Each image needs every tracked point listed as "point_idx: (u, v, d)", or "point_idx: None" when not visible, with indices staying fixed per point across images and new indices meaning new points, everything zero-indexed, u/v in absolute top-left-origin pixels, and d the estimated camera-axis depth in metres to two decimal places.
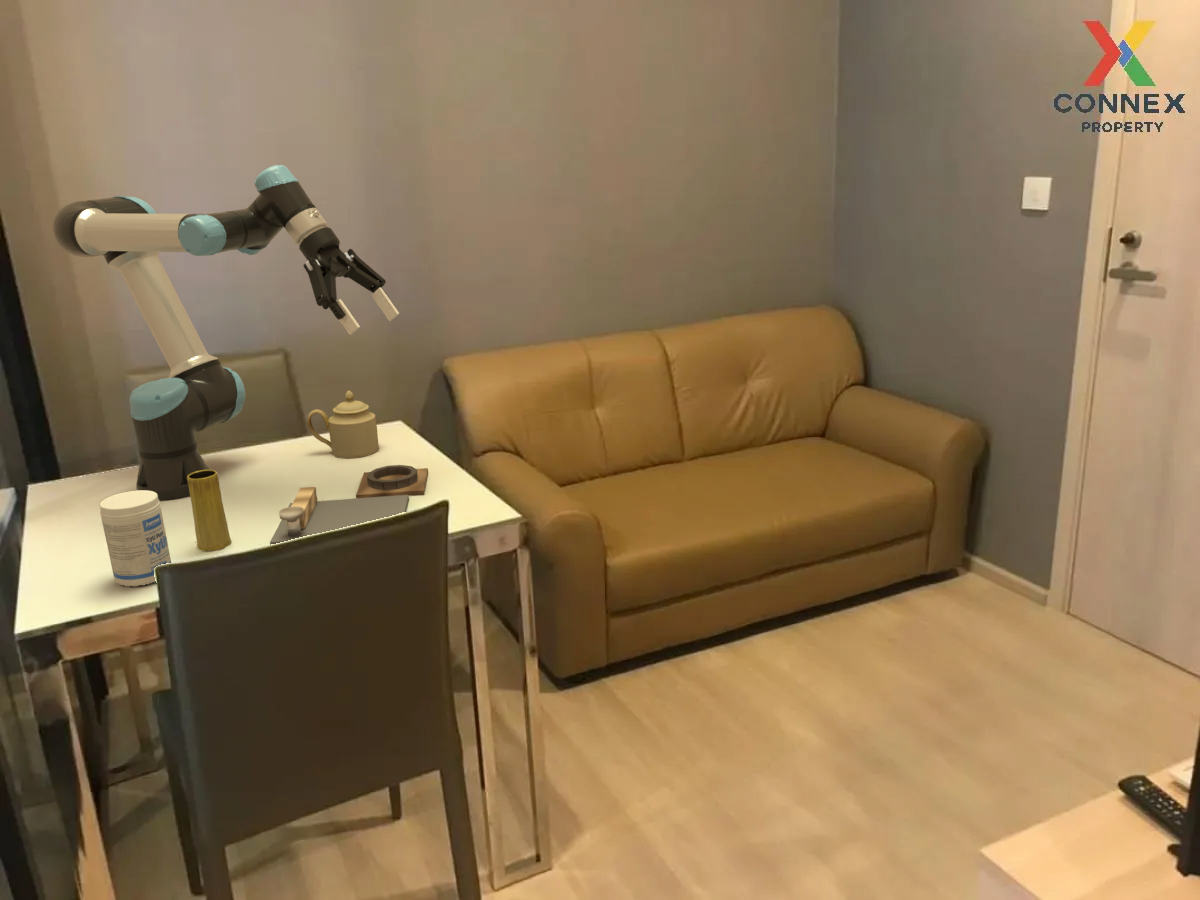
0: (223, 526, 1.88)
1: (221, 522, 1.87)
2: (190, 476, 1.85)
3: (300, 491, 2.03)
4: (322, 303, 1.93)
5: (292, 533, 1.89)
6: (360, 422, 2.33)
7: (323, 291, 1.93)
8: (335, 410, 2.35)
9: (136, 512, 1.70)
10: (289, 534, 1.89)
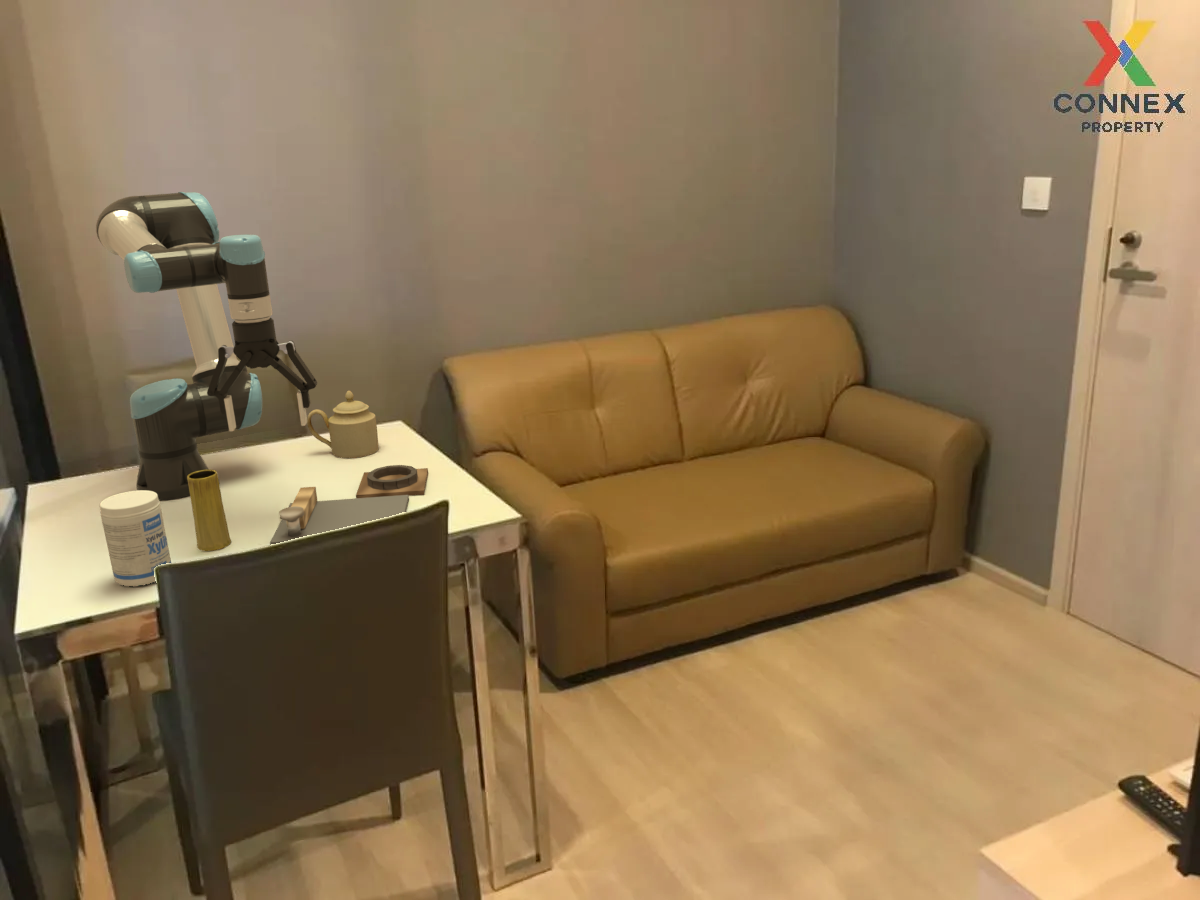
0: (223, 526, 1.88)
1: (221, 522, 1.87)
2: (190, 476, 1.85)
3: (300, 491, 2.03)
4: None
5: (292, 533, 1.89)
6: (360, 422, 2.33)
7: (210, 386, 1.91)
8: (335, 410, 2.35)
9: (136, 512, 1.70)
10: (289, 534, 1.89)
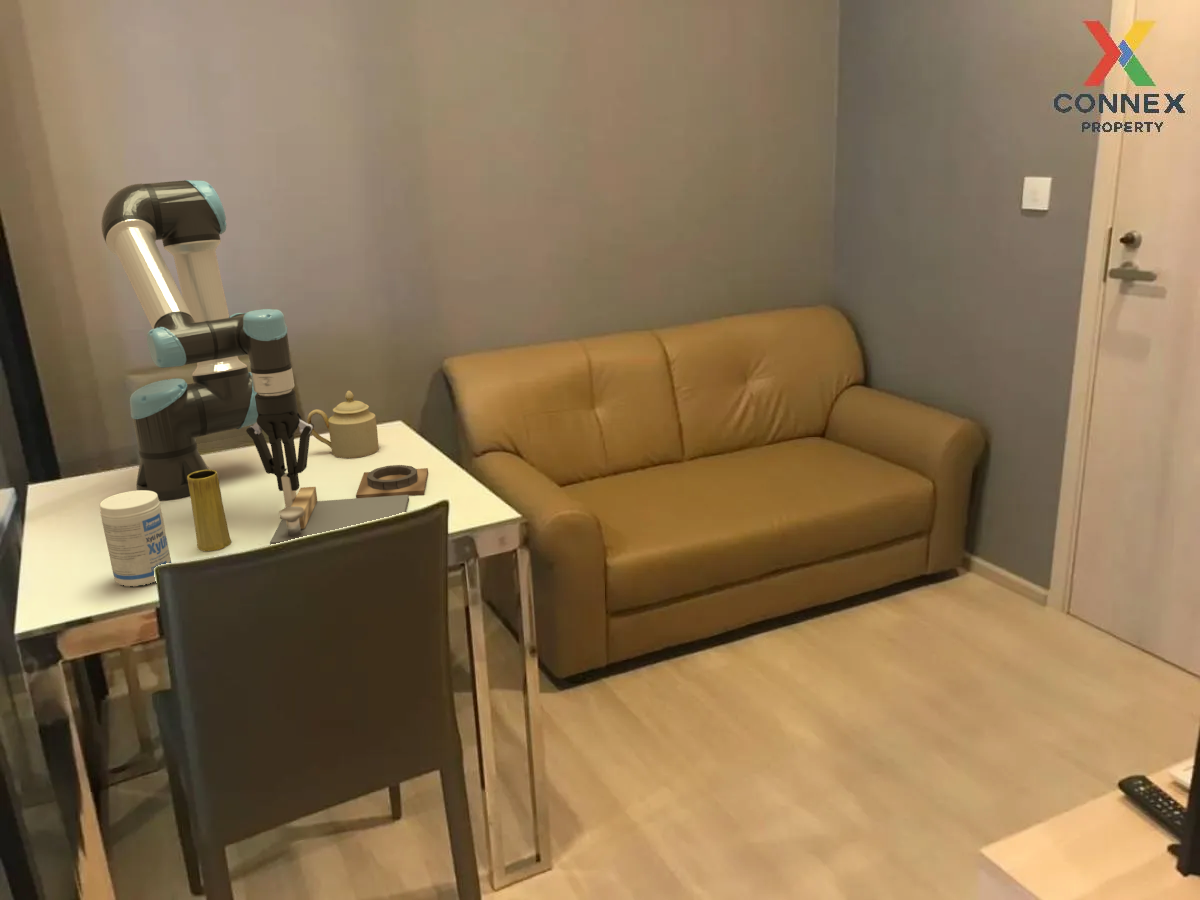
0: (223, 526, 1.88)
1: (221, 522, 1.87)
2: (190, 476, 1.85)
3: (300, 491, 2.03)
4: None
5: (292, 533, 1.89)
6: (360, 422, 2.33)
7: (264, 465, 1.97)
8: (335, 410, 2.35)
9: (136, 512, 1.70)
10: (289, 534, 1.89)
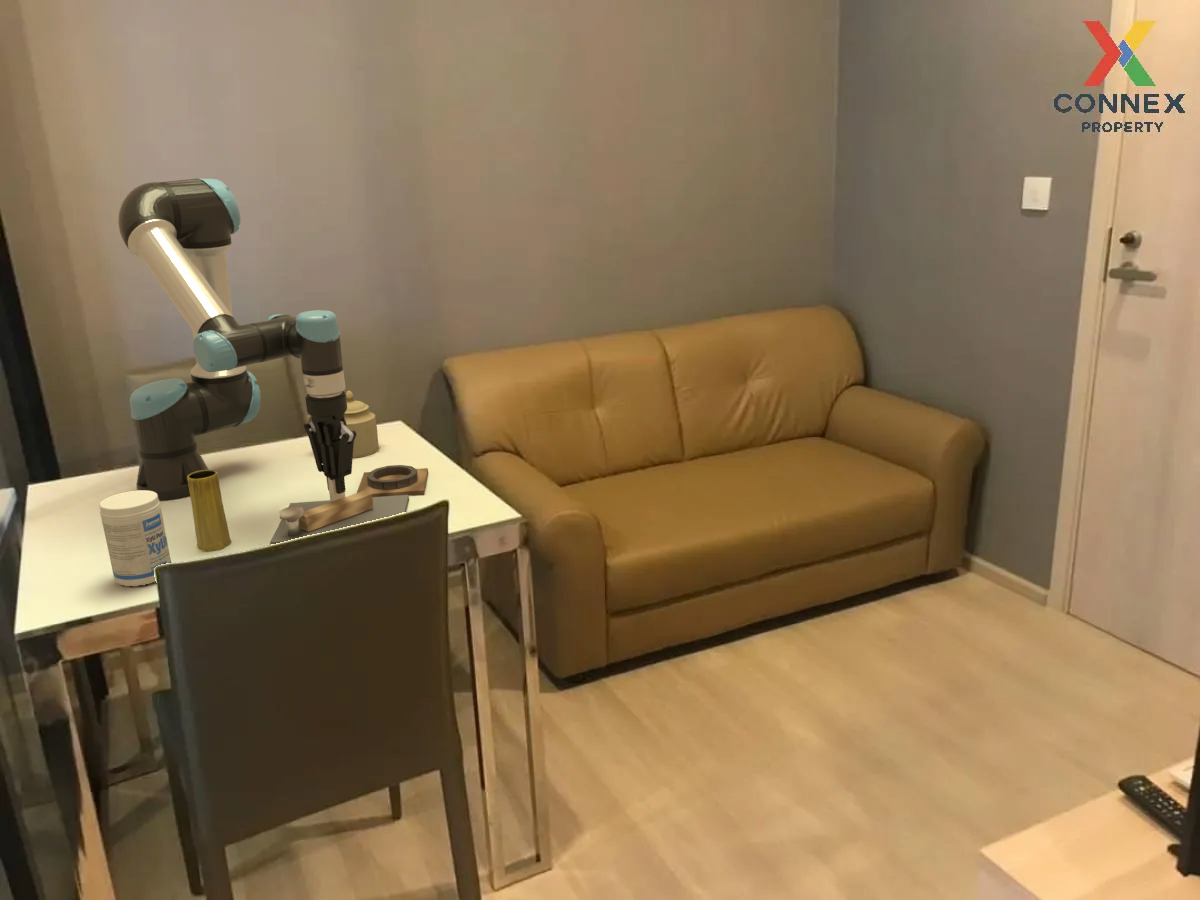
0: (223, 526, 1.88)
1: (221, 522, 1.87)
2: (190, 476, 1.85)
3: (354, 494, 2.00)
4: None
5: (292, 533, 1.89)
6: (360, 422, 2.33)
7: (316, 463, 1.98)
8: None
9: (136, 512, 1.70)
10: (289, 534, 1.89)
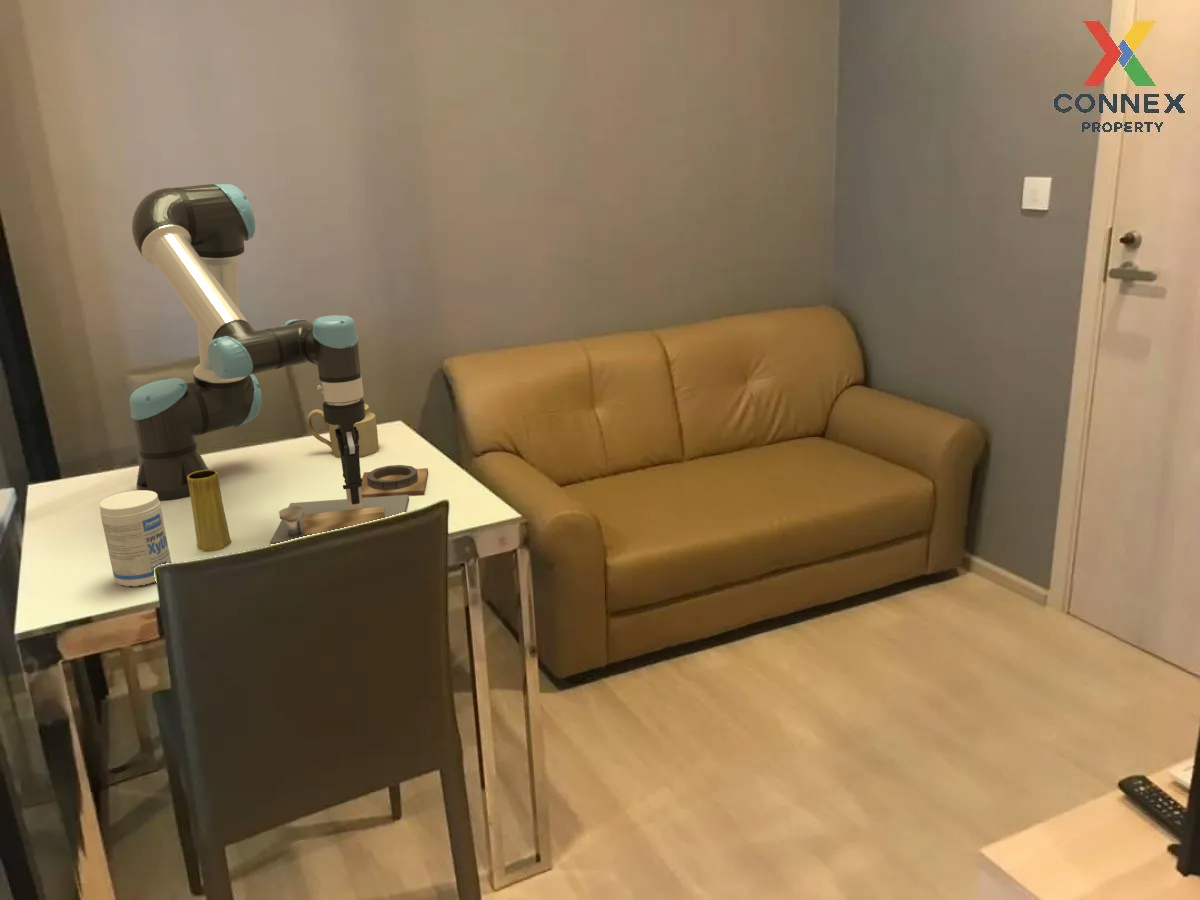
0: (223, 526, 1.88)
1: (221, 522, 1.87)
2: (190, 476, 1.85)
3: (371, 508, 1.93)
4: None
5: (292, 533, 1.89)
6: (360, 422, 2.33)
7: None
8: None
9: (136, 512, 1.70)
10: (289, 534, 1.89)
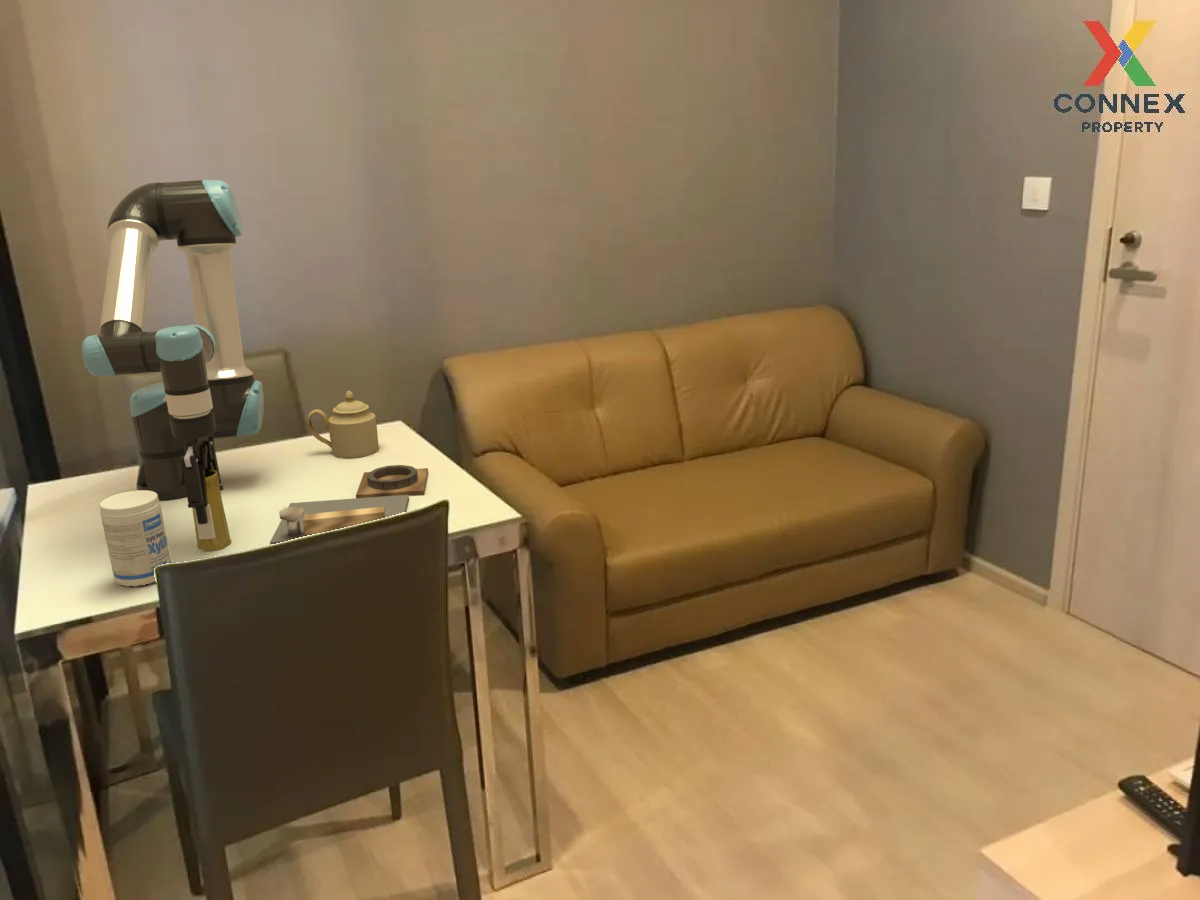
0: (223, 526, 1.88)
1: (221, 522, 1.87)
2: None
3: (371, 508, 1.93)
4: None
5: (292, 533, 1.89)
6: (360, 422, 2.33)
7: None
8: (335, 410, 2.35)
9: (136, 512, 1.70)
10: (289, 534, 1.89)
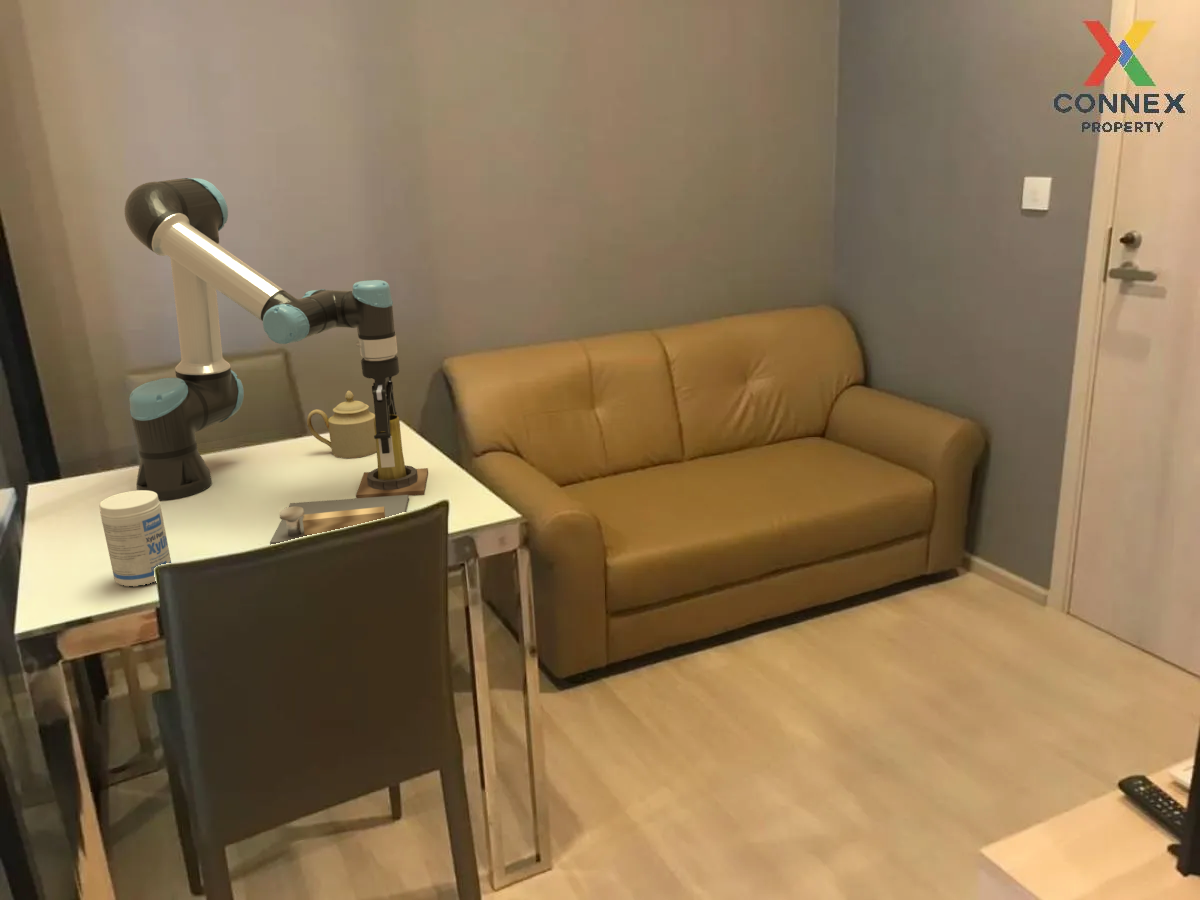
0: (402, 463, 2.14)
1: (401, 460, 2.14)
2: None
3: (371, 508, 1.93)
4: None
5: (292, 533, 1.89)
6: (360, 422, 2.33)
7: None
8: (335, 410, 2.35)
9: (136, 512, 1.70)
10: (289, 534, 1.89)
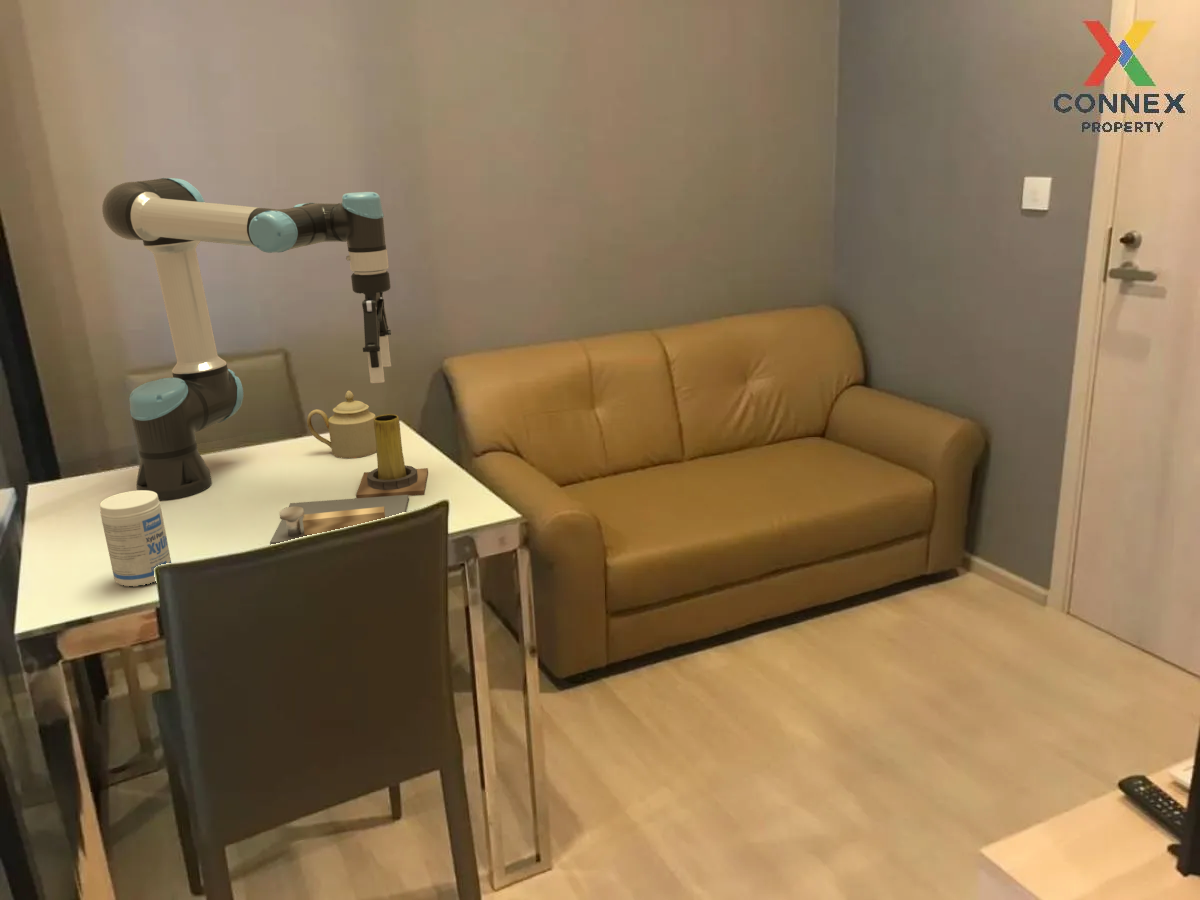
0: (402, 463, 2.14)
1: (401, 460, 2.14)
2: (375, 419, 2.12)
3: (371, 508, 1.93)
4: None
5: (292, 533, 1.89)
6: (360, 422, 2.33)
7: None
8: (335, 410, 2.35)
9: (136, 512, 1.70)
10: (289, 534, 1.89)
